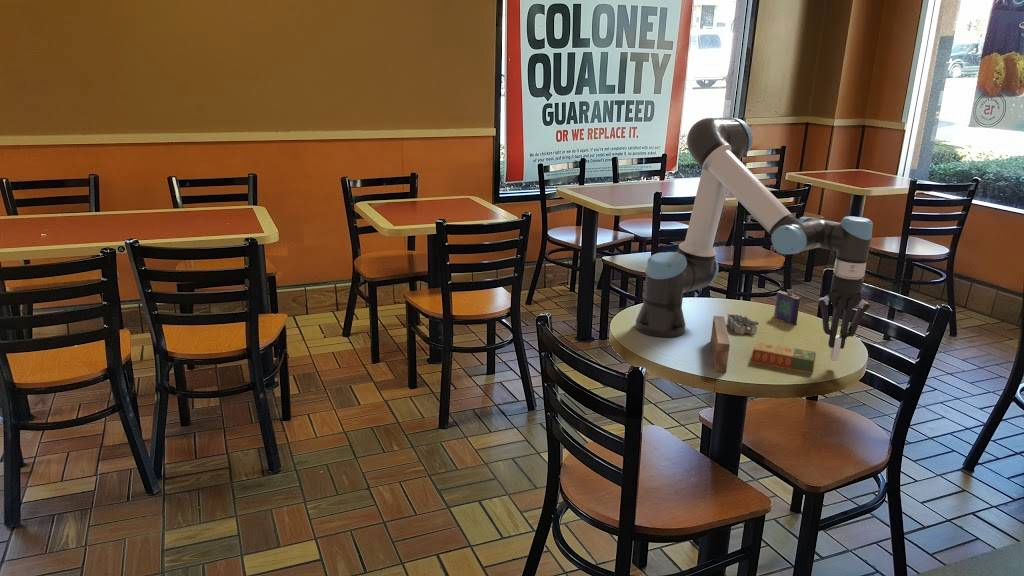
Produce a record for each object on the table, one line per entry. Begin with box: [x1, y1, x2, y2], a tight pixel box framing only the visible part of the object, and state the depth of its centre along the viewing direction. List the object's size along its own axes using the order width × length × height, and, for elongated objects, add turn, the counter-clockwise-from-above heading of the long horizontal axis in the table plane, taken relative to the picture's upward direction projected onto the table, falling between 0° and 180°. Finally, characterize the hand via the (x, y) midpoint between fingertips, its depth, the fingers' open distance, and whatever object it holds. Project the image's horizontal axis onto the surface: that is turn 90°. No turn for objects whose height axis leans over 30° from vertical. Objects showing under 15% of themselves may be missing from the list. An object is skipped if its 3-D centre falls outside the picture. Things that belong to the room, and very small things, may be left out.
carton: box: [750, 340, 817, 375], centre depth 204 cm, size 8×16×4 cm, turn 65°
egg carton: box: [726, 313, 759, 335], centre depth 231 cm, size 11×8×4 cm
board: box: [710, 315, 731, 373], centre depth 207 cm, size 3×24×8 cm, turn 168°
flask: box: [773, 289, 801, 326], centre depth 239 cm, size 9×3×11 cm, turn 24°
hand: (833, 358), depth 201 cm, fingers closed
